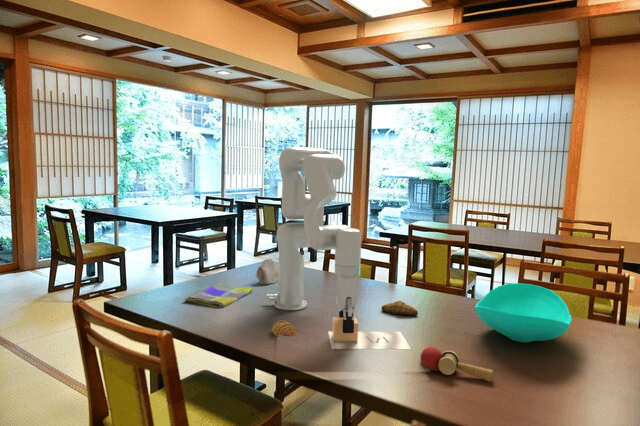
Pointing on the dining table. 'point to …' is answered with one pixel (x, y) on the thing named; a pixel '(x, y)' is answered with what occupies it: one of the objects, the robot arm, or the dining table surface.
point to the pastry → (284, 328)
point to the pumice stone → (268, 272)
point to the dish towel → (219, 295)
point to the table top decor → (524, 312)
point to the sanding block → (344, 337)
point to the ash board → (373, 341)
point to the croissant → (399, 309)
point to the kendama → (451, 363)
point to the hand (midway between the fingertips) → (346, 326)
